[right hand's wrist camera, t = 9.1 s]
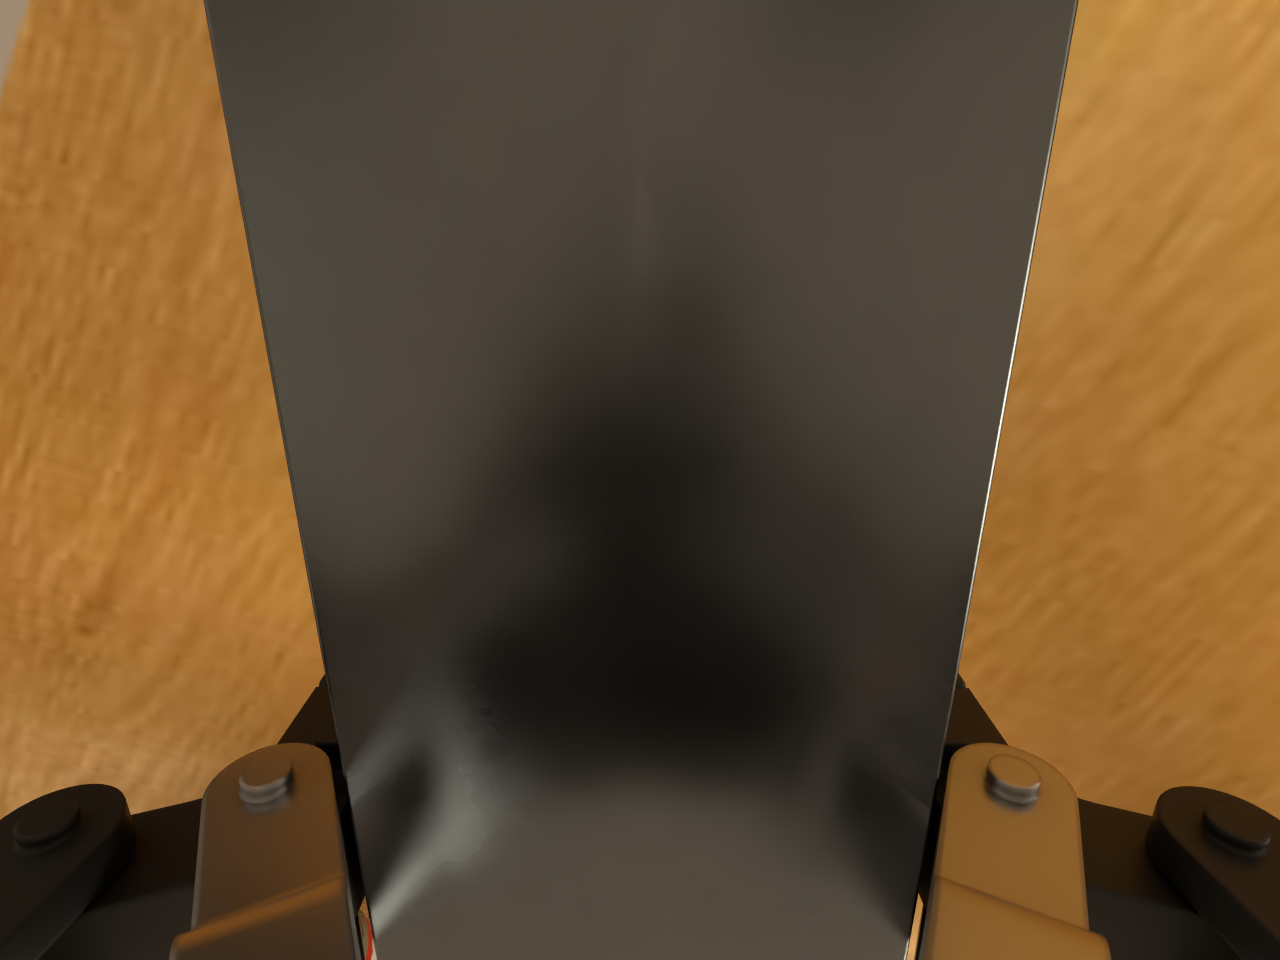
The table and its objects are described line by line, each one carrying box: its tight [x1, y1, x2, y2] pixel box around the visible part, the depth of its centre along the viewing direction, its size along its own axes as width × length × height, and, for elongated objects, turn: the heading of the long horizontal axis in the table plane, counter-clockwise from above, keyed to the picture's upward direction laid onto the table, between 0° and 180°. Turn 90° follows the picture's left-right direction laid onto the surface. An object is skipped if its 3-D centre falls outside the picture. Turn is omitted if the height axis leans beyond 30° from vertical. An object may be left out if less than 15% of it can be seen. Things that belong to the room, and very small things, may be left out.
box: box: [204, 0, 1078, 960], centre depth 11 cm, size 20×6×12 cm, turn 0°
